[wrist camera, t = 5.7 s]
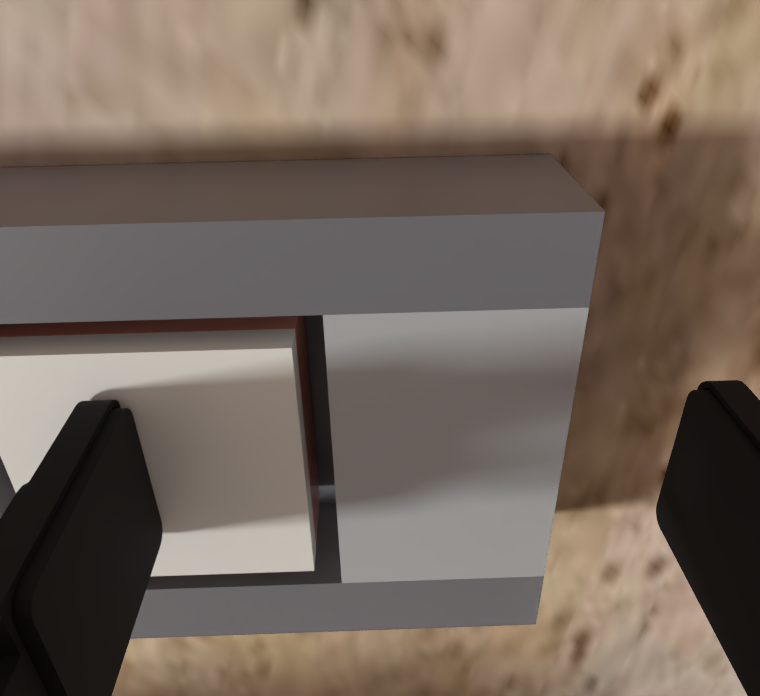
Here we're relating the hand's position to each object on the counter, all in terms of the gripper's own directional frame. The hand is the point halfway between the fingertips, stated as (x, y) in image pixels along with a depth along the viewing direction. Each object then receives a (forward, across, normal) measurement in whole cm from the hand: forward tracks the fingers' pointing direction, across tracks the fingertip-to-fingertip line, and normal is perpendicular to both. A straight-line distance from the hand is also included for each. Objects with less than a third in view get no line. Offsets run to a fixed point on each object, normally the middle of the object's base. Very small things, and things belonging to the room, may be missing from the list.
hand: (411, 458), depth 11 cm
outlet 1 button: (+2, +4, 0) cm, 5 cm away
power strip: (+3, +12, 0) cm, 13 cm away
